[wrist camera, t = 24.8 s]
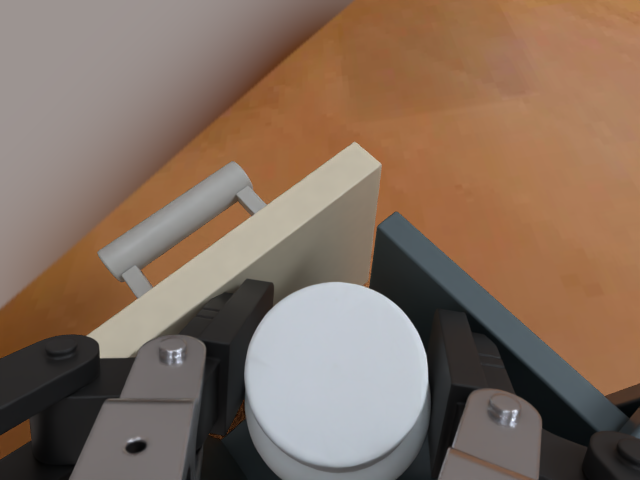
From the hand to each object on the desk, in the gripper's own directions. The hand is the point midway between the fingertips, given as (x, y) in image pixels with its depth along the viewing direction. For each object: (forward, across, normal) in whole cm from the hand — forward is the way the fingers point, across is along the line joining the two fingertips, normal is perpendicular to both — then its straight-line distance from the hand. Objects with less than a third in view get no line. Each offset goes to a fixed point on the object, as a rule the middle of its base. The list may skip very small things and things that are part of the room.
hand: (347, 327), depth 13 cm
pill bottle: (+2, 0, +4) cm, 5 cm away
